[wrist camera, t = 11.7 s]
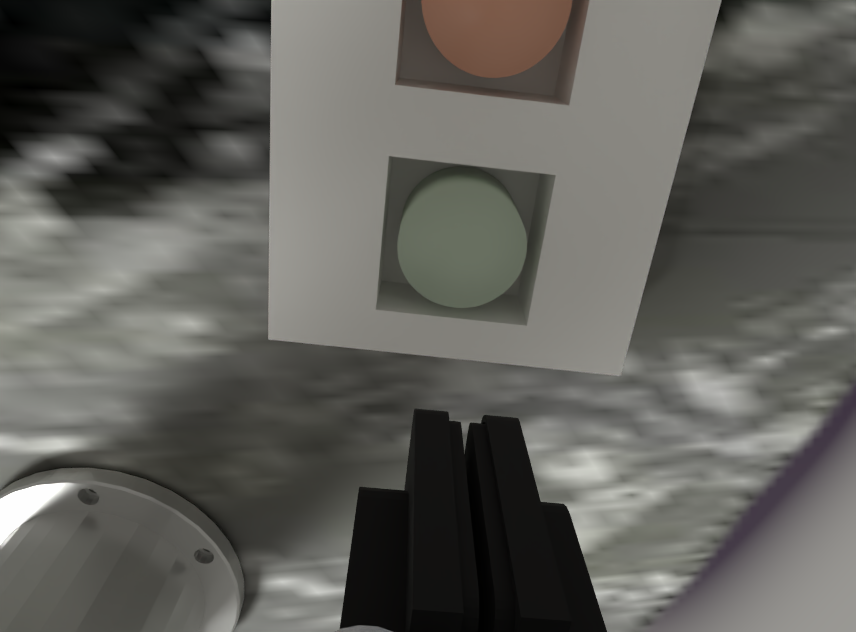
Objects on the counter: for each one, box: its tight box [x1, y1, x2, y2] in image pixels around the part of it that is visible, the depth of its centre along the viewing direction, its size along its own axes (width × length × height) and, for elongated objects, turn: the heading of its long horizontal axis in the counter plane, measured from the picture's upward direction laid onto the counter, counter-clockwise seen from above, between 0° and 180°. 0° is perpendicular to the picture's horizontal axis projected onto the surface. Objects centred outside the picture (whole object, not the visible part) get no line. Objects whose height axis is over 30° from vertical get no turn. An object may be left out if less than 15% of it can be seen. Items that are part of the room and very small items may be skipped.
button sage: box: [397, 166, 527, 308], centre depth 21 cm, size 4×4×3 cm
